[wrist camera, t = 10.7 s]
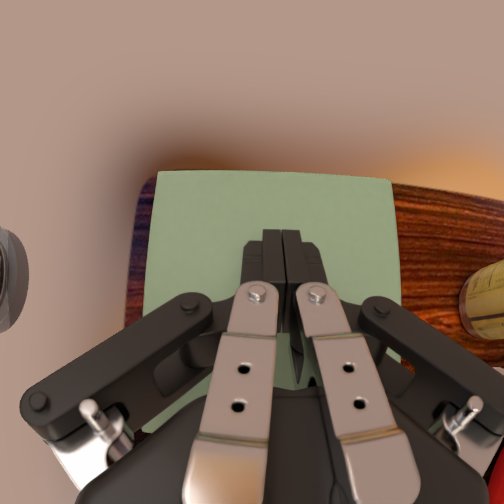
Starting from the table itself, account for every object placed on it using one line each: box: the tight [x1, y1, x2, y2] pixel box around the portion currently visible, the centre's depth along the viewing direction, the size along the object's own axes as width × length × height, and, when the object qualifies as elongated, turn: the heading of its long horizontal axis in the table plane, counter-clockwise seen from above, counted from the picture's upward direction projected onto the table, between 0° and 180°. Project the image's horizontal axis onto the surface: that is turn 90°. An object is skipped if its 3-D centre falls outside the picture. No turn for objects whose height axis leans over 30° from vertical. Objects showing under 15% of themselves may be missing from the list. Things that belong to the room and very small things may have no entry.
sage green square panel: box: [142, 170, 401, 433], centre depth 14 cm, size 12×12×1 cm
